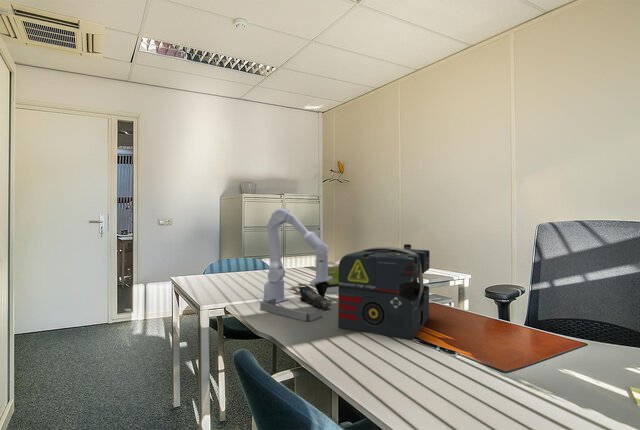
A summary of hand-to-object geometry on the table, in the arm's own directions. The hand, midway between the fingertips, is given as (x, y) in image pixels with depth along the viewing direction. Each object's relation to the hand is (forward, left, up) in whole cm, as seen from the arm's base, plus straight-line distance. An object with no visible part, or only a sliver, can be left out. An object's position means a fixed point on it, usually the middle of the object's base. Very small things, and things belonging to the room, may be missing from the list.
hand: (321, 298), depth 170 cm
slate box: (0, -22, -2) cm, 22 cm away
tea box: (-11, +21, -2) cm, 24 cm away
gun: (0, -6, -2) cm, 6 cm away
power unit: (+38, -9, -2) cm, 39 cm away
